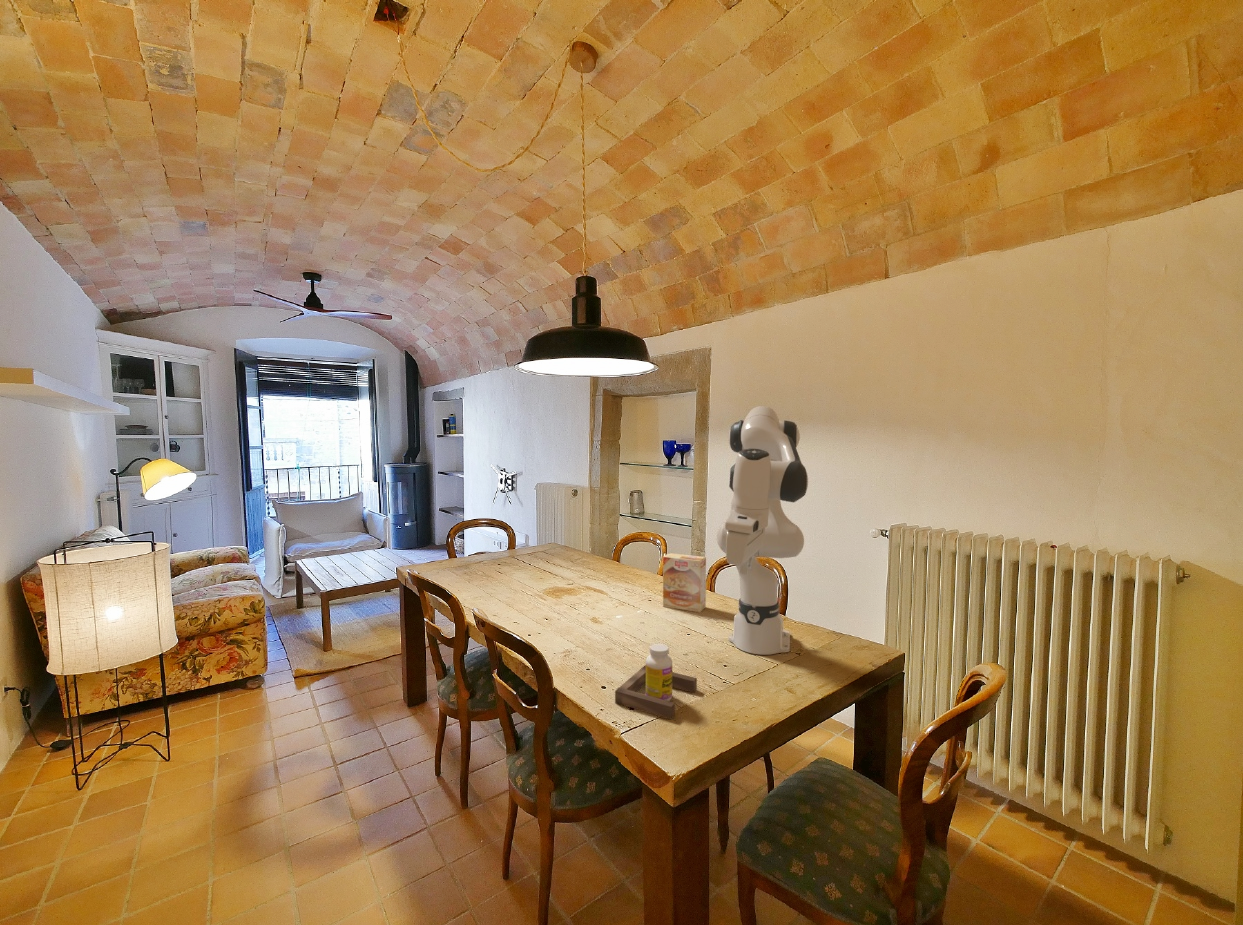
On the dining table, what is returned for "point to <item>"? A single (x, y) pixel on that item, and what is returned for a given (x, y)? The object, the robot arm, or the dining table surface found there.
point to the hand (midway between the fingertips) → (745, 572)
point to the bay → (650, 704)
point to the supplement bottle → (659, 672)
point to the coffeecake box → (684, 582)
